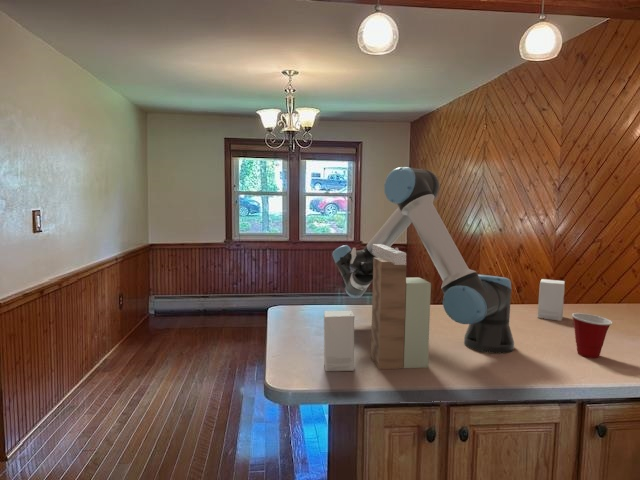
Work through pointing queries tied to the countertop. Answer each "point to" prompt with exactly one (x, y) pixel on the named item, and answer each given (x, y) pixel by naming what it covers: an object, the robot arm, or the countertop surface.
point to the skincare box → (339, 340)
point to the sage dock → (416, 323)
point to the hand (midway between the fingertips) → (376, 251)
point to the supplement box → (551, 299)
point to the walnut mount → (388, 314)
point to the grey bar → (389, 254)
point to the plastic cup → (590, 333)
